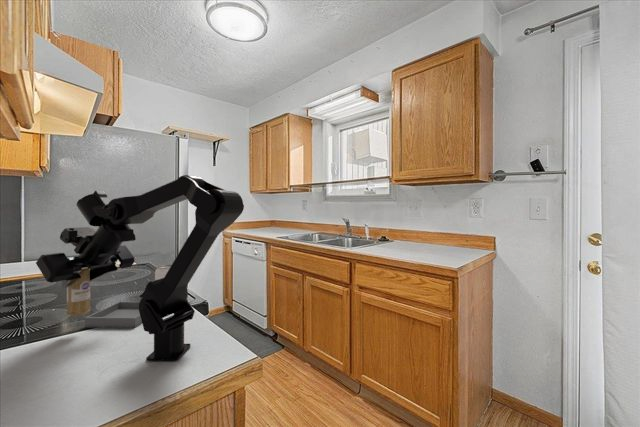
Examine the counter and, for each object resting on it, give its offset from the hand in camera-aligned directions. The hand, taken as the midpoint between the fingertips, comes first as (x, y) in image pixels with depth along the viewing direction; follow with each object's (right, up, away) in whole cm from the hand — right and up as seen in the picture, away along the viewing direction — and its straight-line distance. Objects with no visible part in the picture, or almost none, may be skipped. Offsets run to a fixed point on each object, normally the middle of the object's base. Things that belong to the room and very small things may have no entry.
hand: (74, 283), depth 70 cm
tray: (+6, -12, +10) cm, 17 cm away
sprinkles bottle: (+1, -7, 0) cm, 7 cm away
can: (+10, -12, +24) cm, 28 cm away
